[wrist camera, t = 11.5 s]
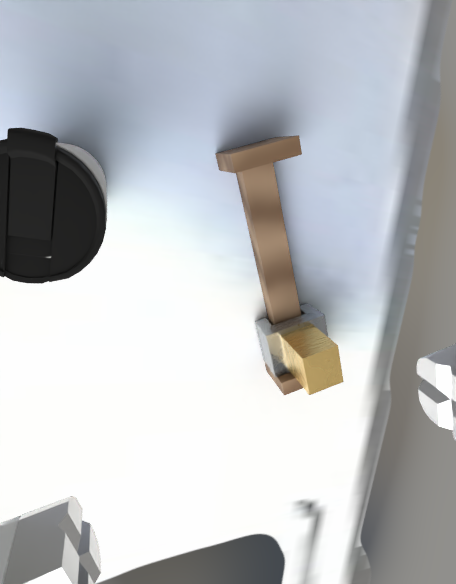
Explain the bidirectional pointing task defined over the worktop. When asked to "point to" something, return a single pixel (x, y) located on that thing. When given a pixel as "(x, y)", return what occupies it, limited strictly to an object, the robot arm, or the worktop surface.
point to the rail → (267, 228)
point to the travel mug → (48, 207)
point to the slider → (301, 350)
